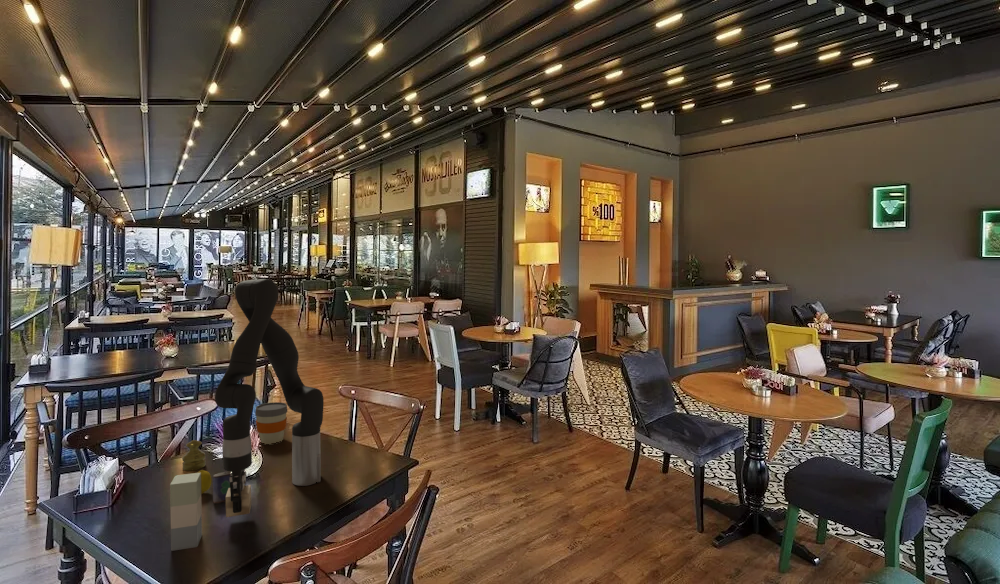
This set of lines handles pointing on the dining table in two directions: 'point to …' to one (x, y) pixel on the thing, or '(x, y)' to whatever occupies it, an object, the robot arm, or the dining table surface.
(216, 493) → the flask
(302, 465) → the robot arm
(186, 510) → the tower mid
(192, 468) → the olive tiered cone
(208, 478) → the lemon
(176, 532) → the tower base
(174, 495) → the tower top
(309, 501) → the dining table surface
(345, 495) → the dining table surface
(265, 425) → the reusable coffee cup
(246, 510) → the maple cube
